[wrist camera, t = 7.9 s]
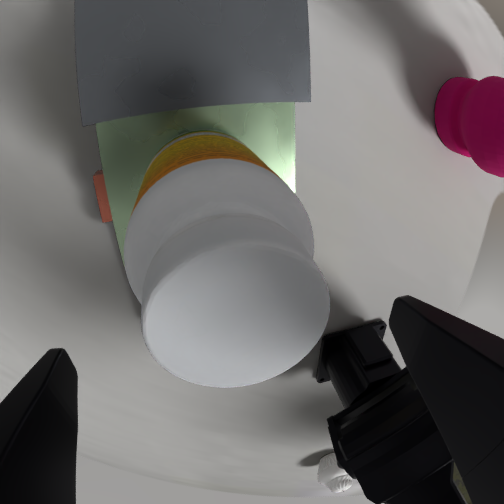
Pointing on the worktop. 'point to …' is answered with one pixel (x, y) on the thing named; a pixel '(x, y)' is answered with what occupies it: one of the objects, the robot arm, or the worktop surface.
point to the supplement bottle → (223, 264)
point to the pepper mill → (473, 120)
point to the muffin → (333, 474)
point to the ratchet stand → (187, 83)
